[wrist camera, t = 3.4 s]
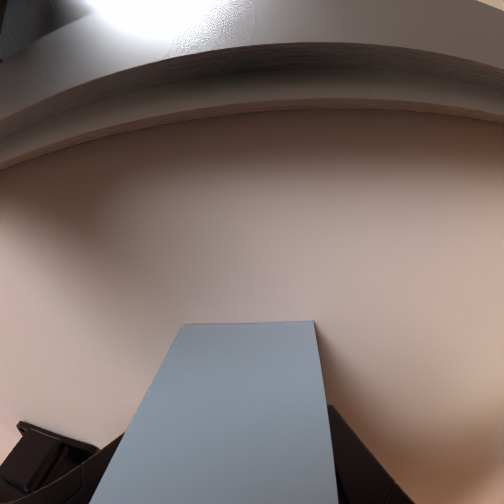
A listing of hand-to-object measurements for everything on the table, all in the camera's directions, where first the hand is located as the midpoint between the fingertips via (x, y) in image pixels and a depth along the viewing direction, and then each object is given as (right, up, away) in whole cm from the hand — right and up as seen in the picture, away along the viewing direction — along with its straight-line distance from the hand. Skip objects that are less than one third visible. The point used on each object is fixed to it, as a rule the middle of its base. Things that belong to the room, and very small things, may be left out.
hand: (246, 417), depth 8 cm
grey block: (0, +1, +2) cm, 2 cm away
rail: (-1, +13, -2) cm, 13 cm away
